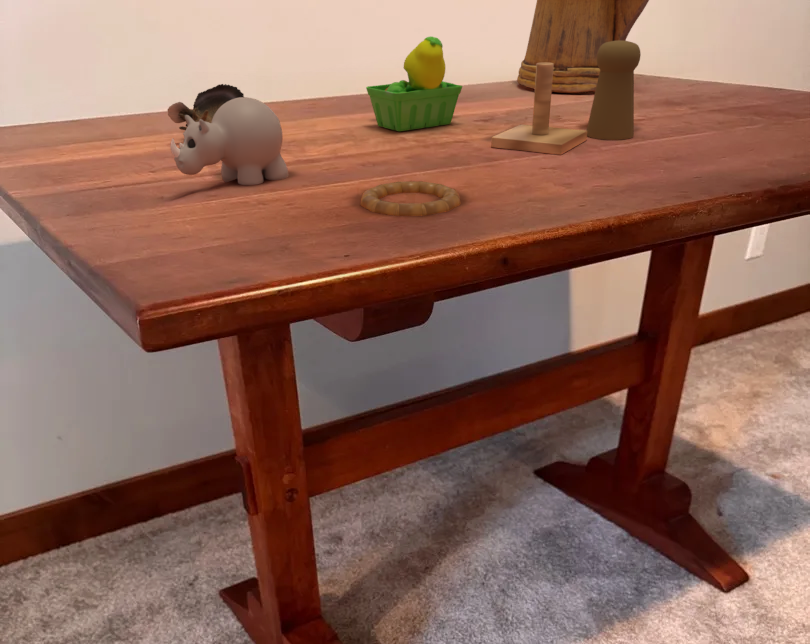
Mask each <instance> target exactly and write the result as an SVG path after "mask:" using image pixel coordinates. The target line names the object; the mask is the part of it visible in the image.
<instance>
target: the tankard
mask: <svg viewBox="0 0 810 644" xmlns="http://www.w3.org/2000/svg"><path fill="white" fill-rule="evenodd" d="M649 1H650V0H536V4H535V9H534V13H533V18H532V23H531V28H530V32H529V37H528V42H527V46H526V50H525V55H524V59H523V60H522V61H521V63H520V67H519V69H518V76H517V77H516V78H517V79H516V82H517V84H519V85H521V86H524V87H527V88H531V89H534V90H535V79H536V64H537V63H540V62H550V63H553V64H554V66H553V79H552V92H551V93H553V92H554V93H562V94H563V93H566V94H595V91H596V86H597V82H598V77H599V73H600V69H599V67H598V65H597V53H598V50H599V48H600V47H601V45H602V44H604V43H606V42H610V41H618V40H621V41H627V38H628V36H629V35H630V32H631V30H632V28H633V27H634V25H635V23H636V22H637V20H638V19H639V17H640V16H641V14H642V13H643V12H644V10H645V9H646V7H647V6H648V3H649Z"/></svg>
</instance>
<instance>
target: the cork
mask: <svg viewBox="0 0 810 644" xmlns="http://www.w3.org/2000/svg"><path fill="white" fill-rule="evenodd" d="M641 57H642V56H641V49H640V46H639V44H637V43H636V42H633V41H629V40H626V41H621V40H618V41H610V42H606V43H604V44H602V45H601V47H600V48H599V50H598V53H597V65H598V67H599V69H600V73H599V77H598V82H597V86H596V91H595V93H594V95H593V99H592V104H591V109H590V114H589V118H588V122H587V126H586V129H585V130H586V131H587V137H589V138H592V139H598V140H608V141H611V140H612V141H619V140H620V141H621V140H627V139H632V138H634V135H635V70H636V69H637V67H638V66H639V63H640V60H641Z"/></svg>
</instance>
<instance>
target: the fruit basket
mask: <svg viewBox="0 0 810 644" xmlns="http://www.w3.org/2000/svg"><path fill="white" fill-rule="evenodd" d="M443 47H444V46H443V42H442V41H441V40H440V38H438V37H435V36H426V37H425V38H424V39H423V40H422V41H420V42H419V43H418V44H417V45H416V47H414V48H413V49H412V50H411V51H410V52H409V53H408V54H407V56H406V57H405V59H404V62H403V69H404V71H405V72H406V73H407V78H408V81H407V80H404V79H401V80H399V81H394V82H392V83H387V84H379V85H369V86H366V87H365V88H366V92H367V94H368V96H369V98H370V99H369V100H370V102H371V106H372V110H373V113H374V116H375V117H374V118H375V120H376V124H377V126H378V127H380V128H384V129H388V130H392V131H397V132H407V131H411V130H412V131H413V130H420V129H425V128H434V127H438V126H447V125H451V123H452V120H453V116H454V113H455V109H456V106H457V104H458V103H457V102H458V99H459V96H460V94H461V92H462V89H463V85H461V84H455V83H452V82H447V81H443V80H444V78H445V74H446V63H445V62H446V61H445V58H444V50H443Z"/></svg>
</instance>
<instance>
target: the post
mask: <svg viewBox="0 0 810 644" xmlns="http://www.w3.org/2000/svg"><path fill="white" fill-rule="evenodd" d="M553 66H554V64H553V63H550V62H540V63H537V64H536V79H535V89H534V95H533V96H534V97H533V108H532V110H533V113H532V124H518V125H516V126H514V127H512V128H510V129H507V130H505V131H503V132H502V131H501V132H500V133H498V134H496V135H493V136H491V139H490V147H491V148H495V149H503V150H504V149H505V150H513V151H522V152H533V153H540V154H551V155H559V156H561V155H563V154H565V153H567V152H569V151H570V150H572V149H574V148H575V147H578V146H579V145H581V144H583V143H585V142H586V141H587V140H588V136H587V131H586V130H587V129H585V130H584V129H575V128H564V127H563V128H562V127H554V126H550V119H551V103H552V93H553V92H552V79H553Z"/></svg>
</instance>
